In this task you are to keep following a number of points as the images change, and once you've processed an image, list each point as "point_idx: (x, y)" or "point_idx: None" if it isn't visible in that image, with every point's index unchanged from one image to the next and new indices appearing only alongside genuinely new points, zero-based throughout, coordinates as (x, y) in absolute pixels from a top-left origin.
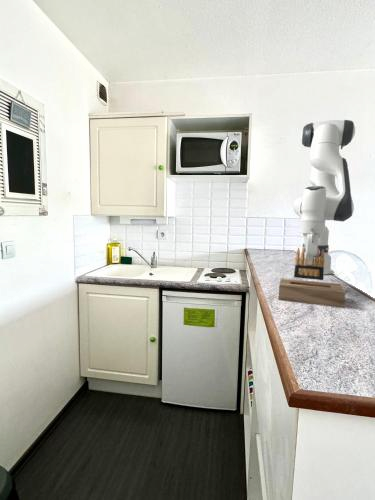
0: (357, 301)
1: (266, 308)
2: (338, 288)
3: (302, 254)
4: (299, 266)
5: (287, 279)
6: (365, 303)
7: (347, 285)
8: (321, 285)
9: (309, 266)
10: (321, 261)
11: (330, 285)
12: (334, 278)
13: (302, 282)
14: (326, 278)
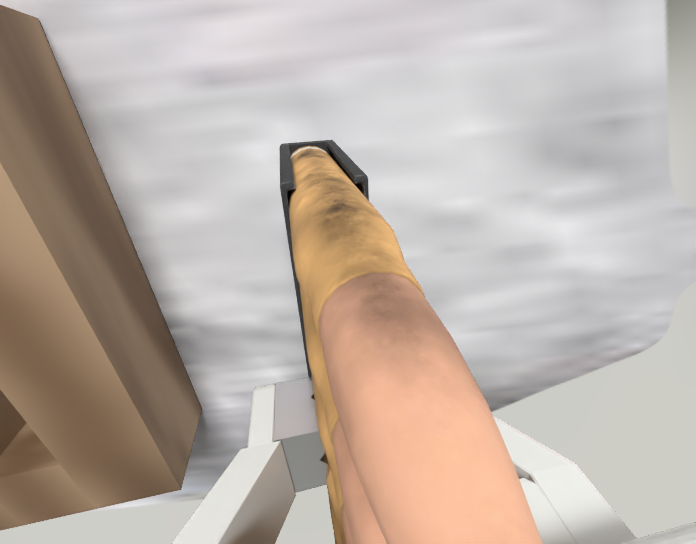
0: (188, 468)
1: None
2: (10, 508)
3: (340, 449)
4: (289, 245)
5: None
6: (178, 490)
7: (490, 405)
8: (30, 416)
9: (309, 369)
10: (335, 539)
11: (64, 464)
12: (635, 343)
13: None
14: (632, 309)
